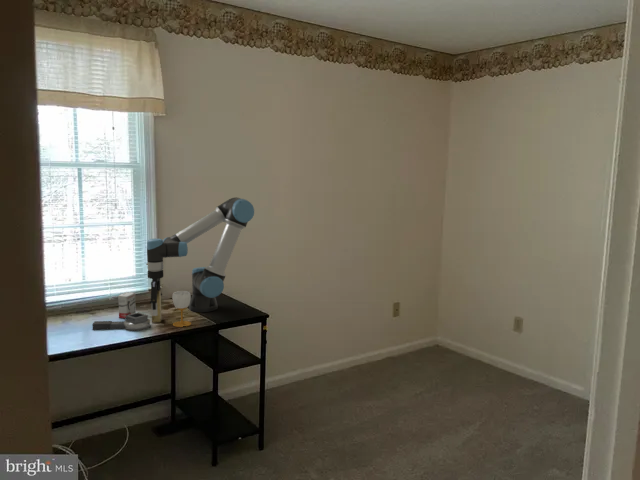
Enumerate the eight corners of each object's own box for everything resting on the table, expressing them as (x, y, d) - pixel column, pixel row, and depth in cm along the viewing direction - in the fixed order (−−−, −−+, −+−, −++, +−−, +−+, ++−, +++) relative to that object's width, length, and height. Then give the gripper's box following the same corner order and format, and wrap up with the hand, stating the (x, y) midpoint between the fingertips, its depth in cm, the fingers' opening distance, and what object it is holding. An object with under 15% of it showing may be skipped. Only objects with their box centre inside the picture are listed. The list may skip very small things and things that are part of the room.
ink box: (127, 318, 274) (126, 296, 272) (118, 318, 275) (117, 295, 273) (136, 314, 283) (135, 292, 281) (127, 313, 283) (127, 291, 282)
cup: (191, 321, 273) (191, 290, 270) (190, 326, 264) (190, 295, 262) (173, 321, 271) (172, 290, 269) (171, 327, 263) (171, 295, 260)
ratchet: (151, 323, 268) (151, 311, 267) (147, 330, 257) (147, 318, 256) (96, 324, 264) (96, 312, 263) (90, 332, 253) (90, 320, 252)
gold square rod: (161, 319, 274) (160, 289, 271) (160, 322, 270) (159, 291, 267) (153, 320, 273) (152, 289, 271) (152, 322, 269) (151, 291, 267)
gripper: (151, 264, 278) (152, 305, 282) (143, 275, 255) (144, 319, 258) (166, 264, 280) (167, 305, 283) (159, 275, 256) (160, 318, 260)
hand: (156, 311), depth 271 cm, fingers open, 12 cm apart
